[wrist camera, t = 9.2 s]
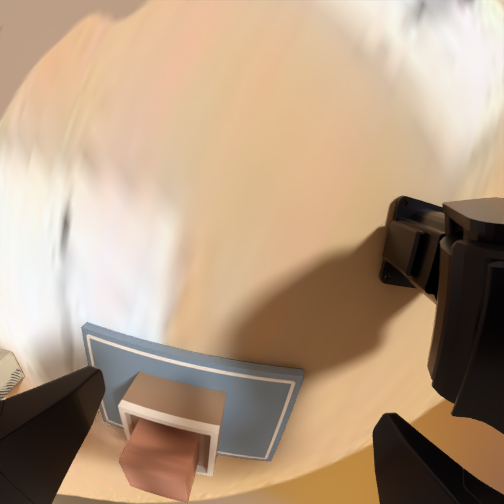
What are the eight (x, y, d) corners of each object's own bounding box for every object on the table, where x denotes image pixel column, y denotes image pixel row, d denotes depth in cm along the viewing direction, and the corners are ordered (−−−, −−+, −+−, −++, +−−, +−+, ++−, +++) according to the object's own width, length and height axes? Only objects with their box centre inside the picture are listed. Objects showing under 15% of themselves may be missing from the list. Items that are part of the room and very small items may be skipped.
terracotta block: (199, 432, 18) (186, 481, 13) (198, 460, 19) (187, 502, 15) (140, 416, 18) (118, 460, 13) (146, 447, 20) (130, 485, 15)
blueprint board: (303, 369, 22) (309, 419, 16) (270, 454, 25) (269, 494, 20) (86, 322, 22) (51, 353, 16) (107, 416, 26) (87, 447, 20)
